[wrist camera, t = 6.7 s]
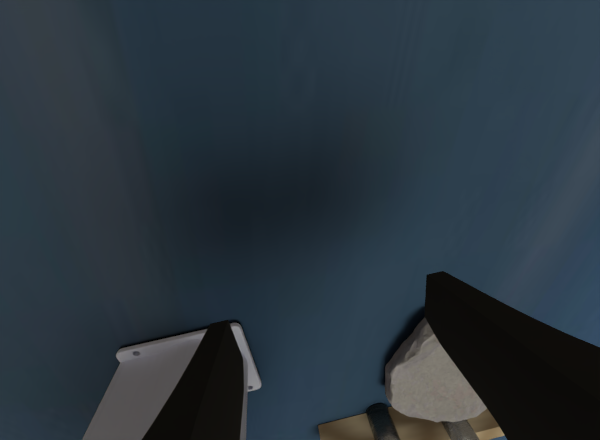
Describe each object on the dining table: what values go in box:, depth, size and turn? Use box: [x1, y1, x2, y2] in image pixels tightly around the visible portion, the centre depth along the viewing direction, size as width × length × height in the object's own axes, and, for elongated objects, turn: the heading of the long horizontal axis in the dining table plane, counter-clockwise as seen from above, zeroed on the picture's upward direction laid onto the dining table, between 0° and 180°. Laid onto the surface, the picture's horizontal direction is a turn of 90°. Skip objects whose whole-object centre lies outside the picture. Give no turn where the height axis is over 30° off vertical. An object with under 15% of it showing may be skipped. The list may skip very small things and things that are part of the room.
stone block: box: [385, 317, 487, 422], centre depth 26 cm, size 12×5×10 cm
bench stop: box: [318, 403, 504, 440], centre depth 28 cm, size 20×3×5 cm, turn 99°
